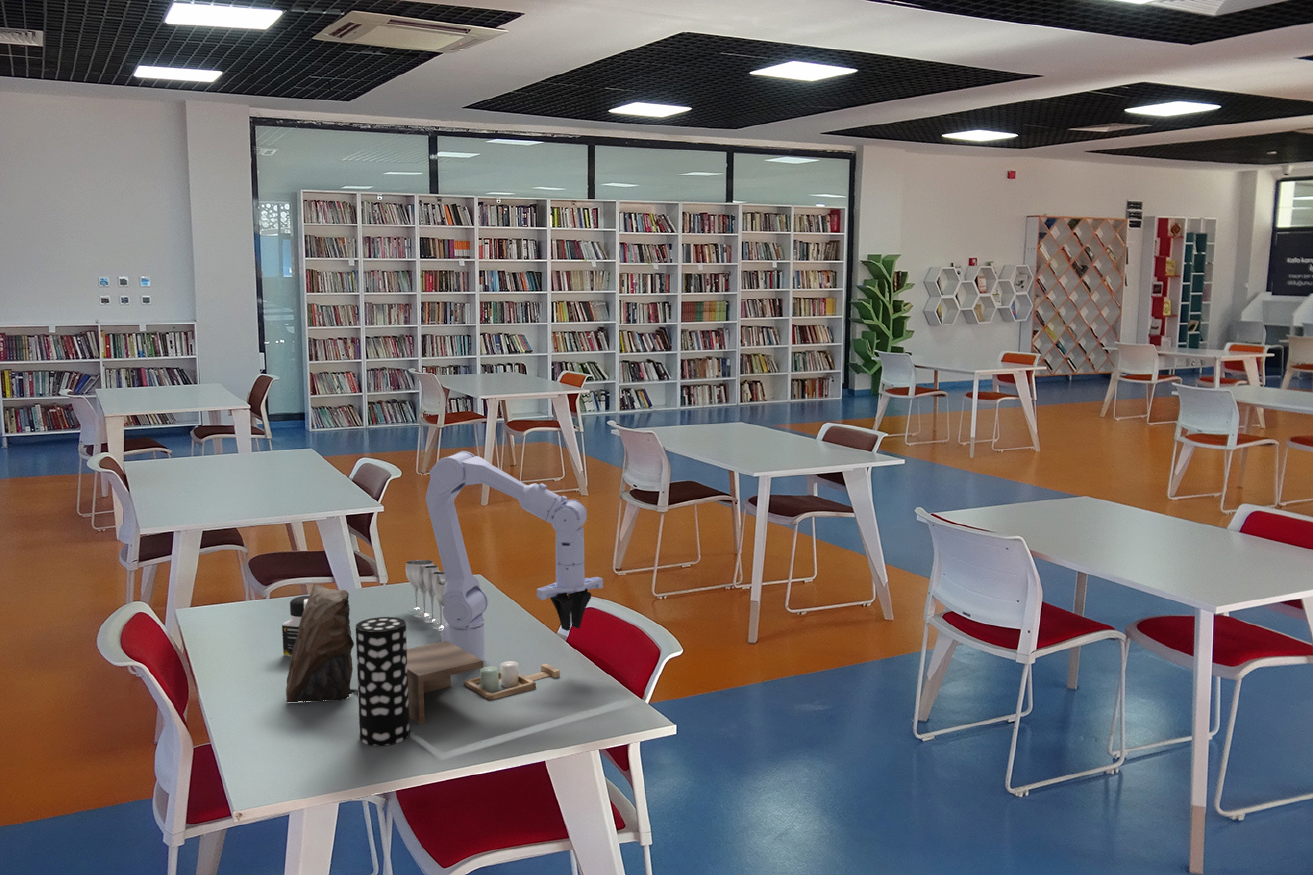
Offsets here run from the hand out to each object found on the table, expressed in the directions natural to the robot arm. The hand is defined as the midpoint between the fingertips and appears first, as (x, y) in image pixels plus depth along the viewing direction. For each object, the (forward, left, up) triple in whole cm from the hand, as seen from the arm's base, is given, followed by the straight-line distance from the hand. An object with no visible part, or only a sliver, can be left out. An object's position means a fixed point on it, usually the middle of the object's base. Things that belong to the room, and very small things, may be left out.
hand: (570, 628), depth 212 cm
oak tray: (0, -13, -10) cm, 16 cm away
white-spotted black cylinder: (+6, -43, -10) cm, 44 cm away
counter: (0, -30, -9) cm, 31 cm away
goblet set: (-49, -7, -10) cm, 51 cm away
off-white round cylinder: (0, -14, -8) cm, 16 cm away
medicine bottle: (-46, -38, -10) cm, 60 cm away
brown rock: (-21, -45, -10) cm, 50 cm away
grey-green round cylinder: (0, -19, -8) cm, 20 cm away
